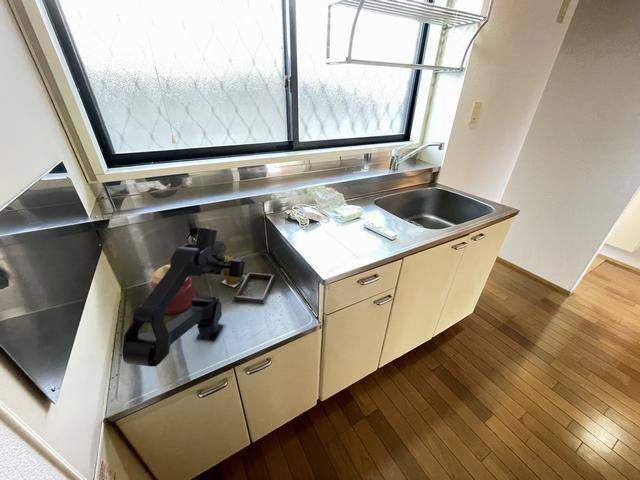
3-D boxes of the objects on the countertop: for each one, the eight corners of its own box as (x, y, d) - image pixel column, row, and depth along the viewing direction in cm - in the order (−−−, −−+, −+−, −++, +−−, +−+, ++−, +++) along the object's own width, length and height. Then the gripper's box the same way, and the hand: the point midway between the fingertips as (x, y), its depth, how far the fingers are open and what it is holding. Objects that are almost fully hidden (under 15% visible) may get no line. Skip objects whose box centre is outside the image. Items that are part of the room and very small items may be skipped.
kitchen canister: (201, 304, 100) (190, 267, 91) (165, 320, 93) (149, 282, 84) (191, 286, 109) (180, 251, 100) (156, 300, 102) (141, 263, 93)
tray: (263, 303, 101) (262, 299, 100) (235, 300, 102) (234, 296, 101) (274, 278, 114) (274, 274, 113) (249, 276, 116) (248, 272, 114)
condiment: (221, 282, 112) (215, 259, 105) (235, 271, 118) (230, 249, 112) (234, 287, 109) (229, 264, 103) (247, 276, 115) (243, 254, 109)
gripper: (238, 241, 84) (254, 251, 99) (184, 236, 86) (208, 247, 101) (232, 275, 81) (249, 280, 96) (176, 270, 83) (202, 275, 98)
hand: (227, 269), depth 98 cm, fingers open, 9 cm apart
